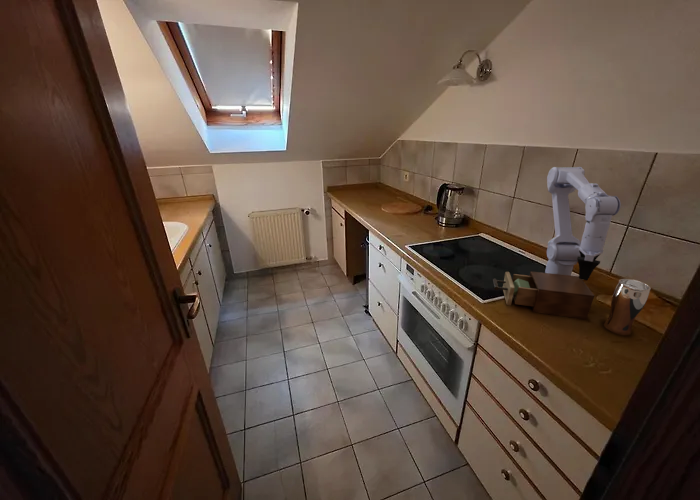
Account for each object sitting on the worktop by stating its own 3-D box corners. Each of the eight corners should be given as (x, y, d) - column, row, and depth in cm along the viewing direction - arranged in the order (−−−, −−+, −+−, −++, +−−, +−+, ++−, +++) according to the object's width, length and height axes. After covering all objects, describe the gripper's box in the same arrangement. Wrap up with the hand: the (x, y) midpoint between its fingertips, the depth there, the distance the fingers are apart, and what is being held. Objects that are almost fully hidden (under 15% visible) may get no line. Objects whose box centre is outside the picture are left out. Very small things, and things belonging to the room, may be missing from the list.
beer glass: (618, 320, 91) (635, 277, 85) (639, 335, 85) (659, 290, 79) (596, 321, 91) (611, 278, 85) (615, 336, 85) (633, 291, 79)
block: (509, 284, 103) (518, 278, 100) (519, 287, 104) (528, 281, 101) (512, 294, 101) (520, 287, 98) (522, 297, 101) (531, 291, 98)
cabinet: (533, 311, 97) (539, 289, 93) (525, 292, 108) (530, 271, 104) (586, 319, 92) (594, 295, 89) (572, 298, 103) (579, 276, 100)
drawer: (493, 303, 100) (496, 285, 98) (489, 286, 110) (492, 270, 108) (553, 311, 95) (558, 293, 92) (544, 293, 105) (548, 276, 102)
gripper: (580, 228, 100) (570, 265, 104) (576, 238, 89) (566, 279, 94) (607, 231, 96) (596, 270, 100) (607, 242, 85) (595, 285, 90)
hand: (583, 275), depth 97 cm, fingers open, 7 cm apart
